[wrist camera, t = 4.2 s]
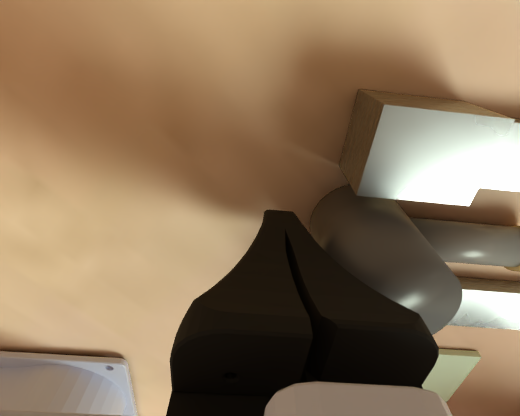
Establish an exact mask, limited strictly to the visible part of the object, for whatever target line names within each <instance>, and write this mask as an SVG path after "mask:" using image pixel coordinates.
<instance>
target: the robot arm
mask: <svg viewBox="0 0 520 416" xmlns="http://www.w3.org/2000/svg"><path fill="white" fill-rule="evenodd" d="M438 357H439V348H438V346H437V344H436V342H435V340H434V338H433V336H432V334H431V333H430V331H429V329H428V327H427V325H426V324H425V322H424V321H423V319H422V317H421V316H420V314H418V313H416V312H414V311H412V310H410V309H409V308H407V307H405V306H403V305H401V304H399V303H397V302H395V301H393V300H391V299H389V298H387V297H386V296H384V295H382V294H380V293H379V292H377V291H375V290H374V289H372V288H371V287H369V286H368V285H366V284H365V283H363V282H362V281H360V280H359V279H358V278H356V277H355V276H353V275H352V274H351V273H349V272H348V271H347V270H345V269H344V268H343V267H342V266H341V265H340V264H338V263H337V262H336V261H335V260H334V259H333V258H332V257H331V256H330V255H328V254H327V252H326V251H325V250H324V249H323V248H322V247H321V246H320V245H319V244H318V243H317V242H316V241H315V240H314V238H313V237H312V236H311V235H310V234H309V232H308V231H307V230H306V228H305V227H304V226H303V225H302V223H301V222H300V220H299V219H298V218H297V216H296V215H295V214H294V213H293V212H289V211H277V210H266V211H265V212H264V217H263V223H262V225H261V228H260V230H259V232H258V234H257V236H256V238H255V240H254V241H253V243H252V245H251V246H250V248H249V249H248V251H247V252H246V254H245V255H244V256H243V257H242V259H241V260H240V261H239V262H238V263H237V265H236V266H235V267H234V268H233V269H232V270H231V271H230V272H229V273H228V274H227V275H226V276H225V277H224V278H223V279H221V280H220V281H219V282H218V283H217V284H216V285H215V286H213V287H212V288H211V289H209V290H208V291H207V292H205V293H204V294H202V295H201V296H199V297H198V298H196V299H195V300H194V301H193V302H192V304H191V306H190V307H189V309H188V311H187V313H186V314H185V316H184V318H183V320H182V322H181V324H180V327H179V329H178V331H177V334H176V337H175V340H174V344H173V348H172V352H171V357H170V369H171V381H172V393H171V397H170V402H169V406H168V410H167V414H166V416H452V414H451V412H450V410H449V408H448V406H447V404H446V402H445V401H444V400H443V399H442V398H441V397H440V396H439V395H438V394H437V393H435V392H433V391H429V390H425V389H423V387H422V384H423V383H424V381H425V379H426V378H427V376H428V375H429V373H430V372H431V370H432V369H433V367H434V366H435V364H436V361H437V359H438ZM0 416H138V415H137V409H136V404H135V399H134V393H133V388H132V383H131V377H130V372H129V367H128V363H127V361H126V360H124V359H122V358H111V357H94V356H76V355H59V354H42V353H25V352H8V351H0Z"/></svg>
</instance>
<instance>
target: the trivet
mask: <svg viewBox="0 0 520 416" xmlns="http://www.w3.org/2000/svg"><path fill="white" fill-rule="evenodd" d="M480 359H481V355H480V354H479V352H478V351H468V350H452V349H439V357H438V359H437V361H436V364H435V366H434V367H433V369H432V370H431V372H430V373H429V375H428V376H427V378H426V379H425V381H424V383H423V384H422V387H423V389H425V390H429V391H433V392H435V393H437V394H438V395H439V396H440V397H441V398H442V399H443V400H444V401H445V402H447V401H448V400H449V399H450V397H451V396H452V395H453V393H454V392H455V391H456V390H457V388H458V387H459V386H460V384H461V383H462V382H463V381H464V379H465V378H466V377H467V375H468V374H469V373H470V372H471V370H472V369H473V368H474V366H475V365H476V364H477V363H478V361H479V360H480Z"/></svg>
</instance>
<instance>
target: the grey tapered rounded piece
mask: <svg viewBox="0 0 520 416" xmlns="http://www.w3.org/2000/svg"><path fill="white" fill-rule="evenodd" d="M310 231H311V235H312V237H313V238H314V240H315V241H316V242H317V243H318V244H319V245H320V246H321V247H322V248H323V249H324V250H325V251H326V252H327V254H328V255H330V256H331V257H332V258H333V259H334V260H335V261H336V262H337V263H338V264H340V265H341V266H342V267H343V268H344V269H345V270H347V271H348V272H349V273H351V274H352V275H353V276H355V277H356V278H358V279H359V280H360V281H362V282H363V283H365V284H366V285H368V286H369V287H371V288H372V289H374V290H375V291H377V292H379V293H380V294H382V295H384V296H386V297H387V298H389V299H391V300H393V301H395V302H397V303H399V304H401V305H403V306H405V307H407V308H409V309H410V310H412V311H414V312H416V313H418V314H420V316H421V317H422V319H423V321H424V322H425V324H426V325H427V327H428V329H429V331H430V333H431V334H432V335H433V334H435V333H437V332H438V331H439V330H441V329H442V328H443V327H445V326H446V325H447V324H448V323H449V322H450V321H451V320H452V319H453V317H454V316H455V315H456V313H457V311H458V309H459V308H460V305H461V302H462V296H463V295H462V287H461V284H460V282H459V280H458V278H457V277H456V276H455V275H454V273H453V272H452V271H451V270H450V268H449V267H448V266H447V265H446V263H445V262H455V263H468V264H480V265H493V266H504V267H505V268H506V269H509V270H512V271H520V226H501V225H489V224H478V223H467V222H455V221H444V220H432V219H421V218H410V217H408V216H407V215H406V213H405V212H404V211H403V210H402V208H401V207H400V206H399V205H398V203H397V202H396V201H395V200H394V199H387V198H377V197H366V196H357V195H356V194H355V192H354V190H353V189H352V187H351V185H346V186H343V187H340V188H338V189H335V190H334V191H332V192H330V193H329V194H328V195H326V196H325V197H324V198H323V199H322V200H321V201H320V202H319V203H318V204H317V206H316V208H315V209H314V211H313V213H312V216H311V220H310Z"/></svg>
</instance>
